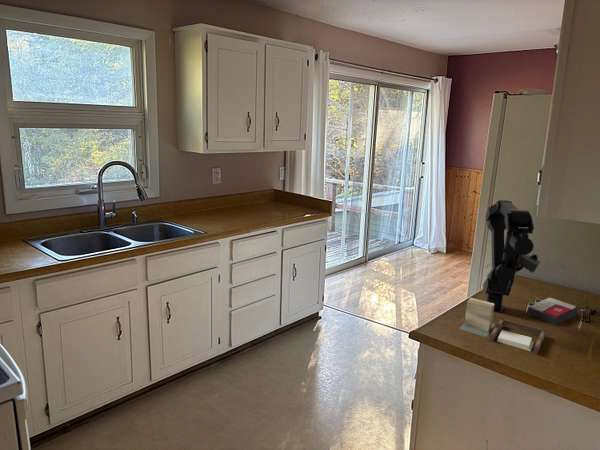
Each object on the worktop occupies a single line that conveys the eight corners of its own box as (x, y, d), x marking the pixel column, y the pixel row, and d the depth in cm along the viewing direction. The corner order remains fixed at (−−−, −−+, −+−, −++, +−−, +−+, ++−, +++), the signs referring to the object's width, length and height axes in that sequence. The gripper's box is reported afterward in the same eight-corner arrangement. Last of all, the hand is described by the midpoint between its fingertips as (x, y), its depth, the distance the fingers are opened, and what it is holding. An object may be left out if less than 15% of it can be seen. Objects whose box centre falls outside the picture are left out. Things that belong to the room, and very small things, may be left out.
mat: (469, 318, 166) (469, 317, 166) (495, 325, 161) (495, 324, 161) (458, 330, 157) (458, 328, 157) (486, 338, 152) (486, 336, 152)
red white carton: (528, 305, 171) (548, 295, 179) (526, 316, 172) (547, 305, 181) (558, 316, 162) (578, 305, 171) (556, 327, 164) (576, 316, 172)
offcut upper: (501, 333, 154) (501, 329, 154) (531, 341, 149) (531, 337, 149) (497, 341, 149) (498, 337, 149) (528, 349, 144) (529, 345, 144)
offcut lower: (501, 336, 155) (502, 333, 155) (533, 346, 149) (534, 342, 149) (496, 345, 150) (496, 341, 149) (529, 355, 144) (530, 351, 144)
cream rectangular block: (467, 321, 163) (470, 297, 161) (491, 327, 158) (494, 303, 156) (464, 325, 160) (467, 301, 158) (488, 332, 155) (491, 307, 153)
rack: (500, 326, 161) (501, 318, 161) (544, 338, 153) (545, 329, 153) (489, 342, 149) (490, 333, 149) (536, 356, 142) (537, 347, 141)
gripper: (534, 257, 145) (527, 303, 149) (544, 244, 159) (537, 286, 163) (497, 250, 151) (491, 294, 155) (510, 239, 166) (504, 279, 170)
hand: (507, 289), depth 160 cm, fingers open, 9 cm apart
